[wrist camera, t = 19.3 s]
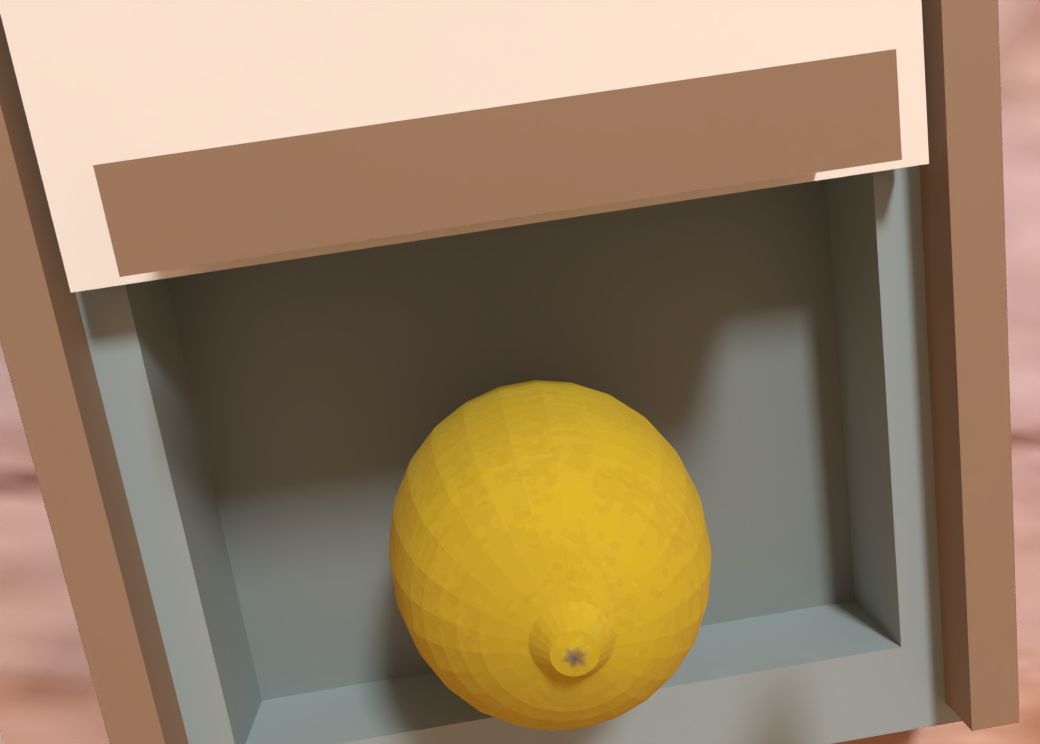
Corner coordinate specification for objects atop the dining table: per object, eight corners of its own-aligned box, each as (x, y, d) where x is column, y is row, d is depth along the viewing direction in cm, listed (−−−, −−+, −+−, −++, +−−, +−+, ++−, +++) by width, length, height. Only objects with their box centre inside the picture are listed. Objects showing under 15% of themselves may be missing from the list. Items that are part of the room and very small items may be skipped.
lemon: (354, 497, 19) (284, 706, 12) (503, 295, 19) (535, 373, 11) (553, 628, 20) (611, 902, 13) (702, 441, 20) (861, 608, 12)
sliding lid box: (197, 782, 21) (146, 898, 17) (-95, -377, 16) (-246, -534, 12) (934, 656, 22) (1024, 743, 18) (876, -494, 17) (985, -672, 13)
